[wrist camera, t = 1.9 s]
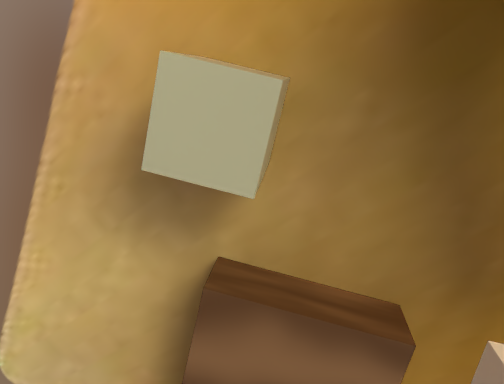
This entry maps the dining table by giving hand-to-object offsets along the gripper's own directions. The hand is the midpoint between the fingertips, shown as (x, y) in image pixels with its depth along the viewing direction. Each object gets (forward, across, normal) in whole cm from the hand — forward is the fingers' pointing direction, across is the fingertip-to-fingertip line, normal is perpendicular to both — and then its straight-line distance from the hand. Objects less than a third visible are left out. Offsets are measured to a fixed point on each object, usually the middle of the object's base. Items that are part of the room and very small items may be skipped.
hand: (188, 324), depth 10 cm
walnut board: (+21, +4, -16) cm, 27 cm away
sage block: (+21, -3, +3) cm, 22 cm away
